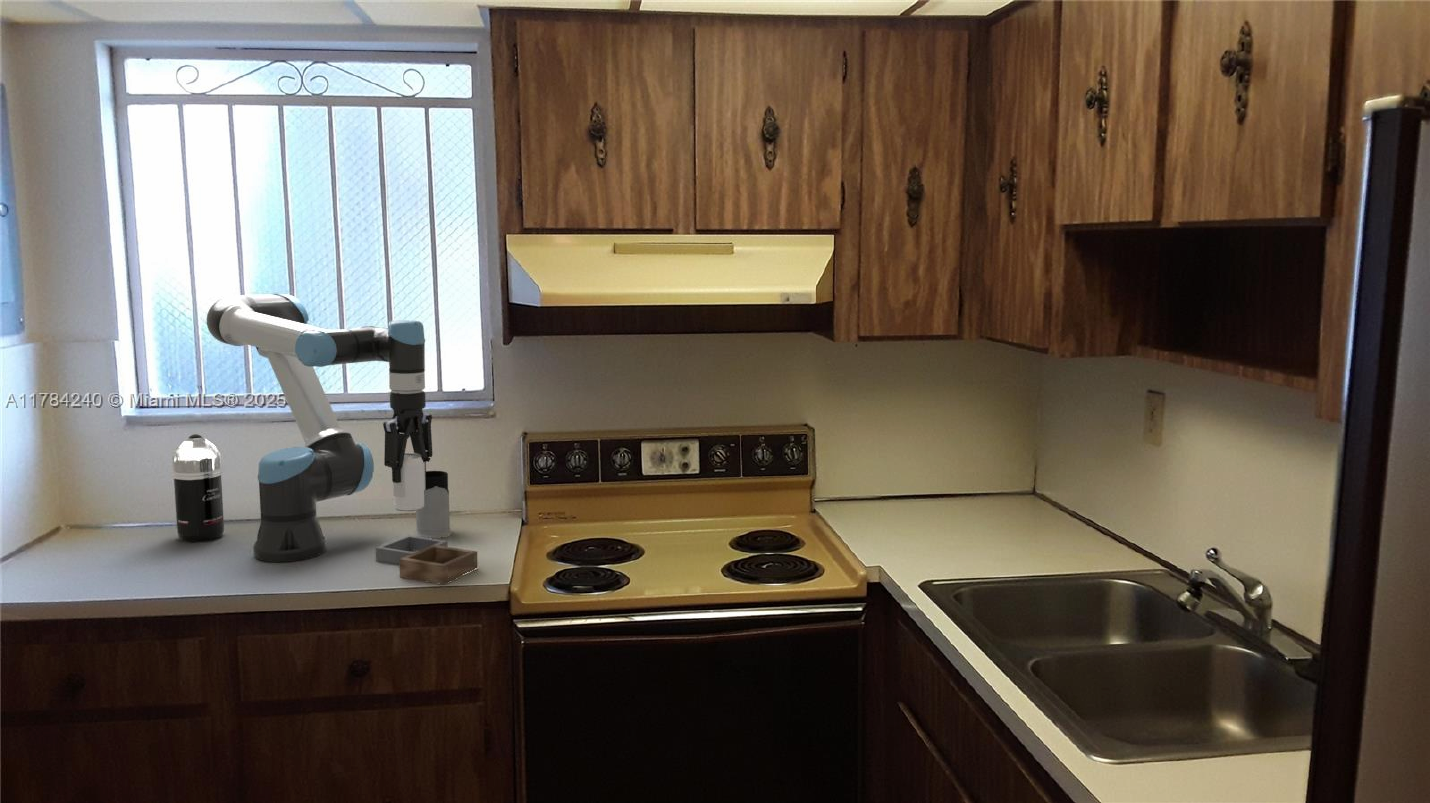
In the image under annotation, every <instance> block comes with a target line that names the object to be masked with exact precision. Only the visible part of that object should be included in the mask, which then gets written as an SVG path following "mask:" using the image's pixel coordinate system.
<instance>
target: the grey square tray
mask: <svg viewBox="0 0 1430 803" xmlns="http://www.w3.org/2000/svg"><path fill="white" fill-rule="evenodd" d="M433 545H439V546H445V547H449V546H448V545H449V544H448V541H447V540H442V539H430V538H423V537H417V536H415V535H405V536H404V537H400V538H397V539H396V540H393V541H390V542H388V543H387V542H386V543H384V544H382V545H379V546H377V547H375V561H376V562H380V563H381V562H383V563H388V564H393V565H399V559H401V558H403V557H406V556H408V555H410V554H413V553H415V552H418V551H420V550H423V549H425V548H428V547H430V546H433ZM409 550H412V551H409ZM416 550H417V551H416ZM414 551H415V552H414Z"/></svg>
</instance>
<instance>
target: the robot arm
mask: <svg viewBox="0 0 1430 803" xmlns="http://www.w3.org/2000/svg"><path fill="white" fill-rule="evenodd" d="M309 321H310V317H309V313H308V311H307V309H306V307H305V306H304V304H303V302H301V301H300V299H298V298H297V297H295V296H293V295H290V294H281V293H277V292H276V293H274V292H273V293H270V294H241V295H240V294H233V295H228V296H225V297H222V298H220V299H218V300H217V301H216V302H214V303H213V304H212V305H211V306H210V308H209V310H208V312H207V314H206V325H207V329H208V331H209V334H211V336H212V337H214V339H215V340H217V341H218V342H220V343H223V344H226V345H230V346H233V347H244V346H247V345H248V346H251V347H254V348H255V349H256V351H257V353H258V354H259V356H260V357H262V358H263V357H264V358H266V359H268V361H269V364H270V366H271V368H272V371H273V373H274V375H275V377H276V379H277V382H278V384H279V386H280V389H281V391H282V393H283V396H284V398H285V400H286V401H287V405H288V407H289V410H290V412H291V413H292V416H293V417H294V420H295V422H296V424H297V427H298V430H299V431H300V433H301V437H302V438H303V440H304V443H305V444H304V446H294V447H293V446H292V447H289V448H288V447H286V448H281V449H277V450H274V451H271V452H269V453H267V454H265V455H263V456H262V457H261V459H260V460H259V462H258V472H257V473H258V475H257V480H258V488H259V490H258V492H259V504H260V505H259V510H260V525H259V528H258V532H257V536H256V537H257V538H256V541H255V542H254V545H253V556H254V558H255V559H256V560H259V561H264V562H270V563H282V562H284V563H286V562H295V561H302V560H306V559H307V560H308V559H311V558H314V557H316V556H317V557H318V556H320V555H321V554H323V553H325V552H326V551H327V540H326V537H325V536H324V535H323V531H322V527H321V525H320V522H319V520H318V515H317V502H318V503H319V502H323V501H326V500H330V499H336V498H340V497H344V496H351V495H354V494H355V493H360V492H362V491H363V490H365V489H366V488H367V487H368V486H369V485H370V483H371V482H372V480H373V475H374V471H375V461H374V457H373V454H372V451H371V450H370V448H369V447H368V446H367V445H365V444H363V443H360V442H355V441H354V439H353V436H352V434H351V432H349V431H347V430H343V429H342V427H341V426H340V424H339V422H338V421H339V420H338V419H337V417H336V415H335V413H334V410H333V408H332V406H331V403H330V402H329V399H328V397H327V395H326V393H325V391H324V388H323V385H322V383H321V382H320V379H319V378H318V375H317V372H316V371H315V368H317V367H318V368H323V367H327V366H337V365H344V364H356V363H366V362H386V363H388V366H389V368H388V376H389V377H388V378H389V390H390V391H391V392H390V393H389V406H390V408H391V409H392V411H393V415H392V419H391V420H389V421H384V422H383V423H382V426H383V430H384V460H383V462H384V466H385V467H387V468H390V469H391V476H392V477H391V481H392V483H393V485H392V486H393V497H394V496H398V497H405V468H402V466H403V460H404V455H405V453H406V448H407V442H408V439H409V438H410V440H411V441H410V442H411V446H412V449H413V453H416V454H420V455H421V458H422V460H423V464H424V491H425V474H426V471H427V462H428V463H429V462H430V461H431V458H432V457H433V454H434V453H433V440H432V420H433V416H432V414H429V413H424V411H423V409H425V408H426V405H427V404H426V403H427V402H426V401H427V400H426V392H425V391H424V390H425V389H426V380H425V379H426V376H425V375H426V374H425V373H426V369H425V368H426V365H425V364H426V360H425V358H426V357H425V354H426V353H425V352H426V351H425V350H426V349H425V343H426V338H425V329H424V324H423V323H422V322H421V321H420V320H407V319H405V320H404V319H403V320H402V319H399V320H397V319H396V320H391V321H389V322H388V326H387V327H377V326H374V325H368V326H367V325H363V326H357V327H355V328H343V329H342V328H341V329H326V328H321V327H317V326H315V325H310V323H309ZM314 367H315V368H314ZM397 461H398V463H397Z"/></svg>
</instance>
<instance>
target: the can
mask: <svg viewBox="0 0 1430 803" xmlns="http://www.w3.org/2000/svg"><path fill="white" fill-rule="evenodd" d="M397 463H398V461H397ZM402 468H405V497H398V496H394V495H393V508H394V509H395V510H397V511H399V512H416V511H417V510H420V509H422V508H423V507H424V464H423V460H422V458H421V455H420V454H416V453H414V452H413V453H412V452H409V453H406V452H405V455H404V460H403V466H402Z"/></svg>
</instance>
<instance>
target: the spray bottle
mask: <svg viewBox="0 0 1430 803" xmlns="http://www.w3.org/2000/svg"><path fill="white" fill-rule="evenodd" d="M171 460H172V474H173V475H172V478H173V485H174V488H173V489H174V499H175V501H174V502H175V515H176V516H175V517H176V532H177V537H178V539H180V540H181V541H184V542H189V543H197V542H198V543H199V542H207V541H212V540H215V539H217V538H220V537H222V536H223V534H224V533H225V520H224V518H225V517H224V503H223V502H224V501H223V486H222V484H223V483H222V474H223V472H222V466H221V462H222V461H221V453H220V451H219V449H218V448H217V446H216V445H215V444H214V443H212V442H211V441H209V440H208V439H206V438H205V437H203V436H202V435H200V434H198V433H195V434H194V433H193V434H190V436H188V437H187V438H186V439H185V440H184V441H183V442H181V443H180V444H179V445H178V446H177V448H176V449H175V451H174V452H173V455H172V459H171Z"/></svg>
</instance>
